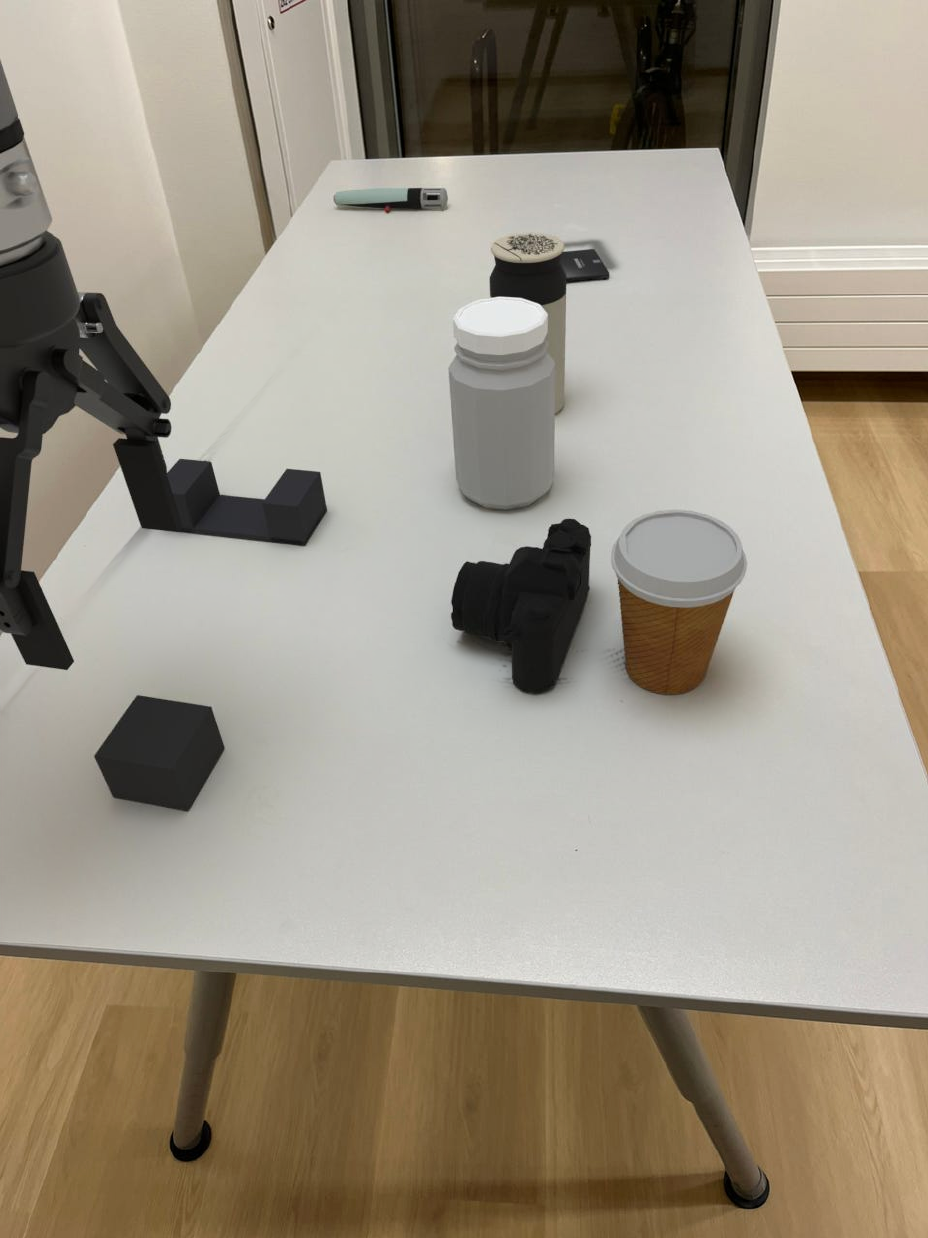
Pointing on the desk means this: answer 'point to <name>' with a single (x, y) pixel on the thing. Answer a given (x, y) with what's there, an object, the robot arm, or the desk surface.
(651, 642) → the disposable coffee cup
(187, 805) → the small block
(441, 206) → the teal pen-shaped device
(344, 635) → the desk surface
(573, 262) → the solid state drive
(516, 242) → the travel mug
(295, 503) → the notched block
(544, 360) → the jar
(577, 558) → the film camera
